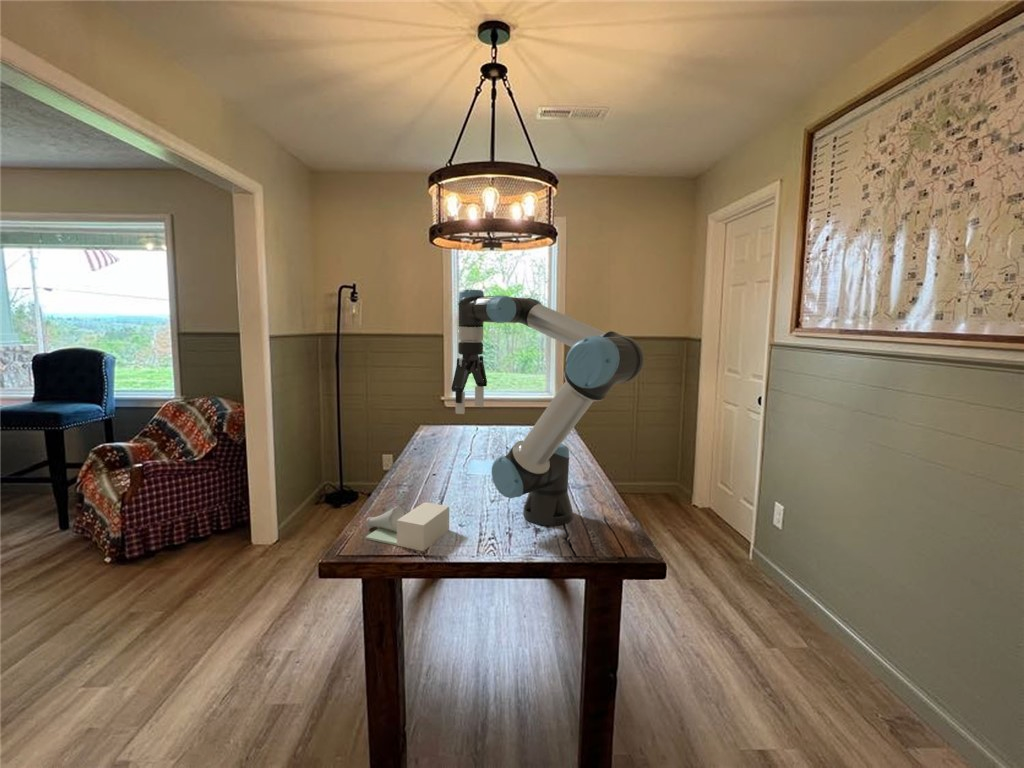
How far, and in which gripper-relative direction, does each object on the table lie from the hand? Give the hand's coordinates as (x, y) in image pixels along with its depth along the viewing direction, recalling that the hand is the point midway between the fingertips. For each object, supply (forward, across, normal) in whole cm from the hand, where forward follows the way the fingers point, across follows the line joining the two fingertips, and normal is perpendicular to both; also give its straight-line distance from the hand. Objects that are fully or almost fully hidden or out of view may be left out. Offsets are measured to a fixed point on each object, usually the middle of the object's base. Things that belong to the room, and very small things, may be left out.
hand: (470, 410), depth 150 cm
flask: (+28, +24, -10) cm, 38 cm away
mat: (+32, +24, -11) cm, 41 cm away
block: (+32, +24, -2) cm, 40 cm away
